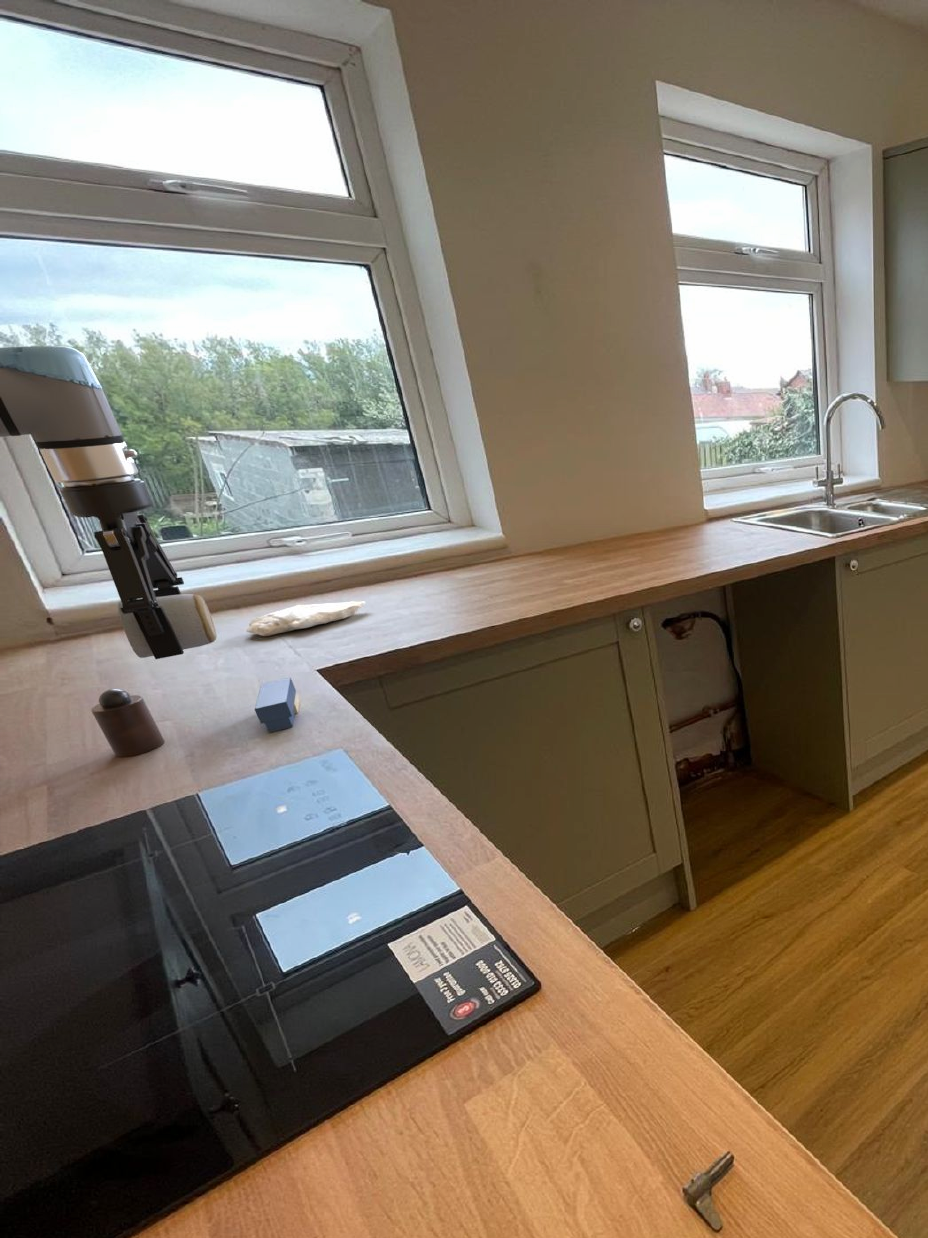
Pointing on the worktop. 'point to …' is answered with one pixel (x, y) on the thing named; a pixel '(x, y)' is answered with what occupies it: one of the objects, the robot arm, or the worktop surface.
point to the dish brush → (277, 704)
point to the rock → (302, 617)
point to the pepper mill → (126, 723)
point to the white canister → (174, 623)
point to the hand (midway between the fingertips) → (177, 643)
